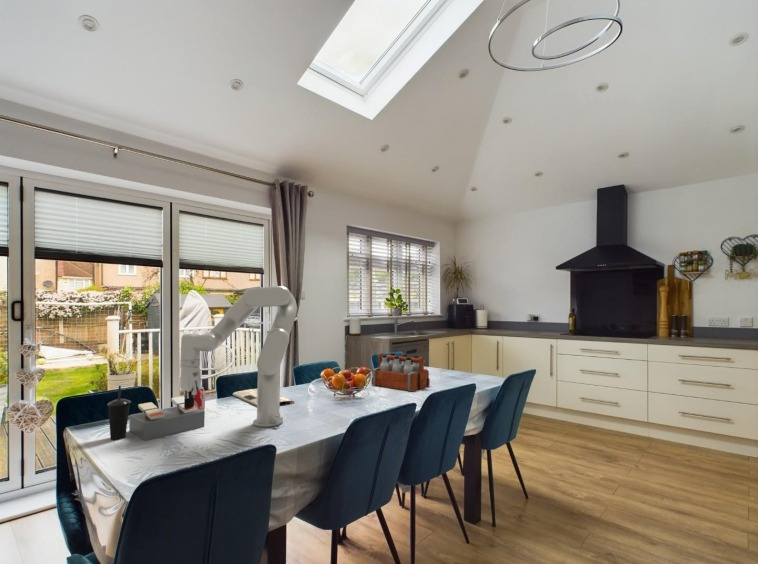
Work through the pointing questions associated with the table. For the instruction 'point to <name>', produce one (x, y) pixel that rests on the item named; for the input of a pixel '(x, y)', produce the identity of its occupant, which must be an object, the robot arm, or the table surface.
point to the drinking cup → (118, 417)
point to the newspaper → (255, 396)
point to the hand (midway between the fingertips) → (188, 407)
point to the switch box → (165, 423)
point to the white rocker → (182, 404)
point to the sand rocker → (151, 410)
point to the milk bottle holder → (400, 373)
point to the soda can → (200, 399)
